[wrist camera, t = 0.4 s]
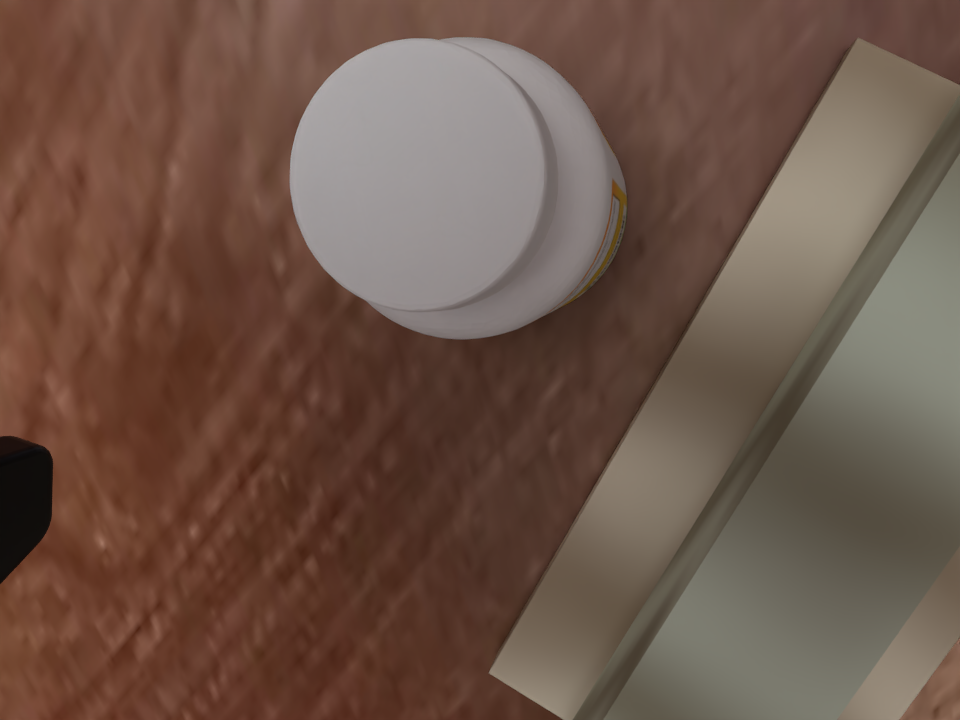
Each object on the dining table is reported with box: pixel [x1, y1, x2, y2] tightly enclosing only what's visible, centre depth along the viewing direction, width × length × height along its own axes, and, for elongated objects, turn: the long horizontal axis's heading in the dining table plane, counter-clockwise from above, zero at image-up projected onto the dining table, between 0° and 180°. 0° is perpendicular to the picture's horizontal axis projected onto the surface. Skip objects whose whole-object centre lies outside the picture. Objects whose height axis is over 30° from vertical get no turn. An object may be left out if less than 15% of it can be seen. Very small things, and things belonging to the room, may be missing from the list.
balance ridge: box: [489, 38, 960, 720], centre depth 19 cm, size 18×9×4 cm, turn 152°
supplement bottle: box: [290, 37, 627, 339], centre depth 17 cm, size 5×5×10 cm
